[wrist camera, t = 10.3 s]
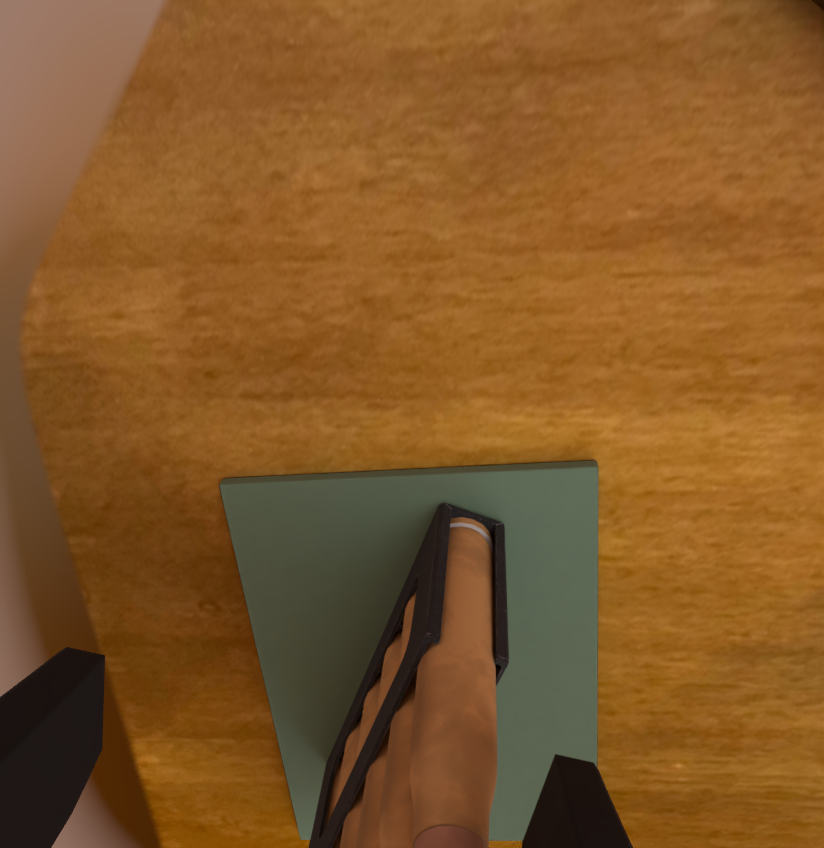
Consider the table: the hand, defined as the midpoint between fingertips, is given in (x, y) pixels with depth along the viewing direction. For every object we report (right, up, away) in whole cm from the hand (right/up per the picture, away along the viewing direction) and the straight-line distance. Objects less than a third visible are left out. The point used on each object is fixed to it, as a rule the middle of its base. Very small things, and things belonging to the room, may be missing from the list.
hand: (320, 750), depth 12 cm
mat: (+2, -2, +11) cm, 12 cm away
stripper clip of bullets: (+1, -2, +11) cm, 11 cm away
